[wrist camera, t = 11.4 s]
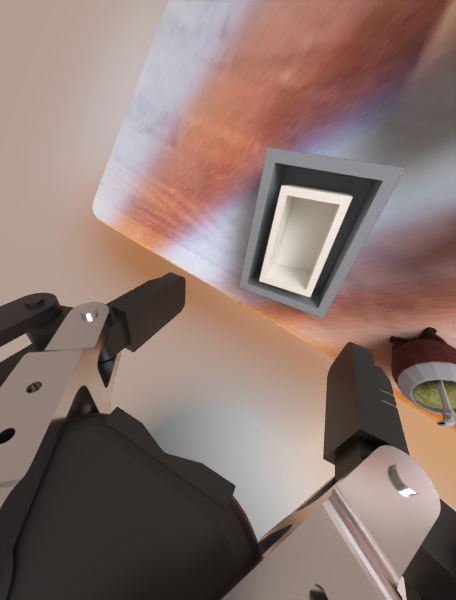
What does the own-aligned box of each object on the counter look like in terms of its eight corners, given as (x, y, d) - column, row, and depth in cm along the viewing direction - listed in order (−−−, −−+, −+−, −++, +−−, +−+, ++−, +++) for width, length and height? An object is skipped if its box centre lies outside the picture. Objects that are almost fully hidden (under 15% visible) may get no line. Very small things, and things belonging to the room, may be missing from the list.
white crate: (271, 264, 28) (259, 281, 24) (292, 184, 23) (281, 185, 18) (314, 276, 27) (310, 297, 22) (349, 193, 21) (352, 197, 16)
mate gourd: (435, 373, 27) (509, 520, 15) (368, 352, 30) (389, 464, 18) (474, 331, 23) (616, 487, 11) (393, 312, 26) (441, 422, 14)
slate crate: (253, 271, 31) (238, 287, 27) (281, 154, 23) (267, 147, 18) (325, 295, 28) (323, 318, 24) (389, 170, 20) (405, 168, 15)
